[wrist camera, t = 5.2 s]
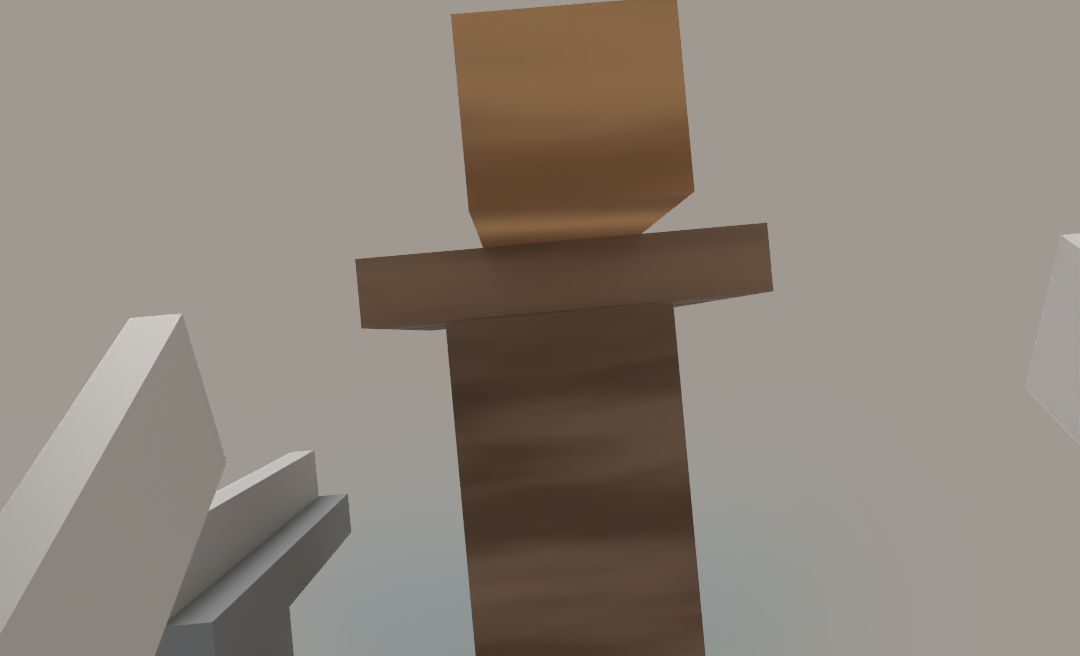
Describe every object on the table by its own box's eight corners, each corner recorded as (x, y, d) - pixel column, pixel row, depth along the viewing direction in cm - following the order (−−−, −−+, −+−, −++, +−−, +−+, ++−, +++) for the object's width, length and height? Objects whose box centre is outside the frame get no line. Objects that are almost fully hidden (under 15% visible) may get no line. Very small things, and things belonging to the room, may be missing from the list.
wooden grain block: (694, 191, 19) (676, -4, 19) (469, 211, 19) (451, 14, 19) (604, 263, 38) (595, 165, 38) (493, 272, 38) (484, 175, 38)
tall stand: (861, 1250, 27) (766, 222, 27) (449, 1298, 26) (355, 259, 26) (709, 846, 48) (656, 271, 48) (479, 870, 47) (426, 292, 47)
